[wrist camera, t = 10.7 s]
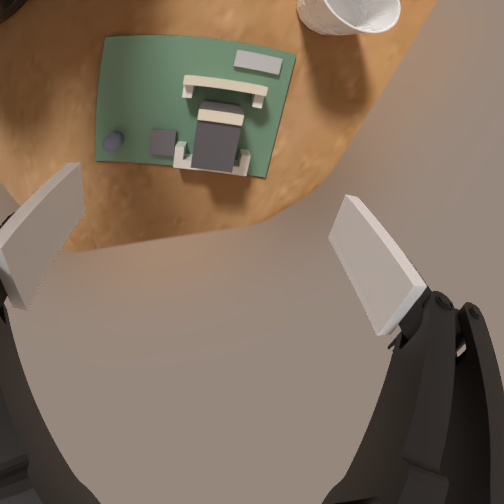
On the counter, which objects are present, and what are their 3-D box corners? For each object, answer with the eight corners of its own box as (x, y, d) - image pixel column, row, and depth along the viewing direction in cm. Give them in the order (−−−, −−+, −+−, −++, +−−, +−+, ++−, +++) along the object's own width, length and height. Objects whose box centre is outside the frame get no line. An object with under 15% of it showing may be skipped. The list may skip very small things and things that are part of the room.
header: (176, 160, 31) (171, 170, 28) (188, 74, 25) (184, 75, 22) (244, 168, 33) (247, 179, 30) (263, 85, 27) (268, 87, 24)
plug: (196, 147, 31) (190, 168, 25) (204, 99, 27) (199, 107, 21) (229, 152, 31) (232, 173, 26) (239, 104, 28) (244, 113, 22)
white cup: (315, -26, 18) (349, -52, 10) (365, 13, 21) (413, 4, 13) (277, 13, 21) (301, -9, 14) (331, 52, 25) (373, 49, 17)
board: (96, 159, 30) (87, 167, 27) (106, 37, 20) (97, 35, 18) (264, 176, 34) (268, 185, 32) (295, 55, 25) (302, 53, 23)
